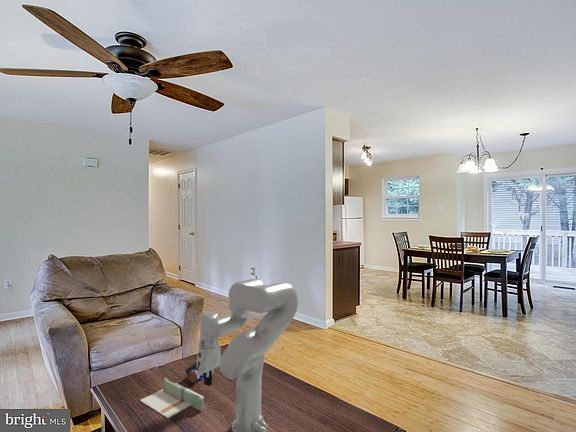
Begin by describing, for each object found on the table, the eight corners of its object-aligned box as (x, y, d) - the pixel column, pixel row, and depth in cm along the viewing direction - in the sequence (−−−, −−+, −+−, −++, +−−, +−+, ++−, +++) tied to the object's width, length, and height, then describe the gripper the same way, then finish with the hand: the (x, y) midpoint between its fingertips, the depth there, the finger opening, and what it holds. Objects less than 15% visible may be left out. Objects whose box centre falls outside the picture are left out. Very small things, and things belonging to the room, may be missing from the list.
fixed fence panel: (183, 398, 142) (183, 386, 142) (180, 400, 141) (180, 388, 140) (165, 388, 149) (165, 377, 149) (162, 390, 148) (162, 379, 148)
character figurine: (213, 373, 165) (194, 388, 151) (201, 370, 168) (181, 384, 154) (214, 358, 165) (195, 372, 151) (202, 355, 168) (182, 368, 154)
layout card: (204, 397, 143) (204, 396, 143) (167, 418, 129) (167, 417, 129) (176, 383, 155) (176, 382, 155) (140, 401, 140) (140, 399, 140)
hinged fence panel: (180, 399, 140) (180, 389, 140) (183, 398, 142) (184, 387, 141) (201, 411, 132) (201, 399, 132) (204, 409, 134) (204, 398, 134)
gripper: (200, 350, 131) (199, 395, 131) (228, 339, 143) (226, 380, 143) (188, 345, 135) (187, 388, 136) (216, 334, 147) (215, 374, 148)
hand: (207, 384), depth 140 cm, fingers closed
